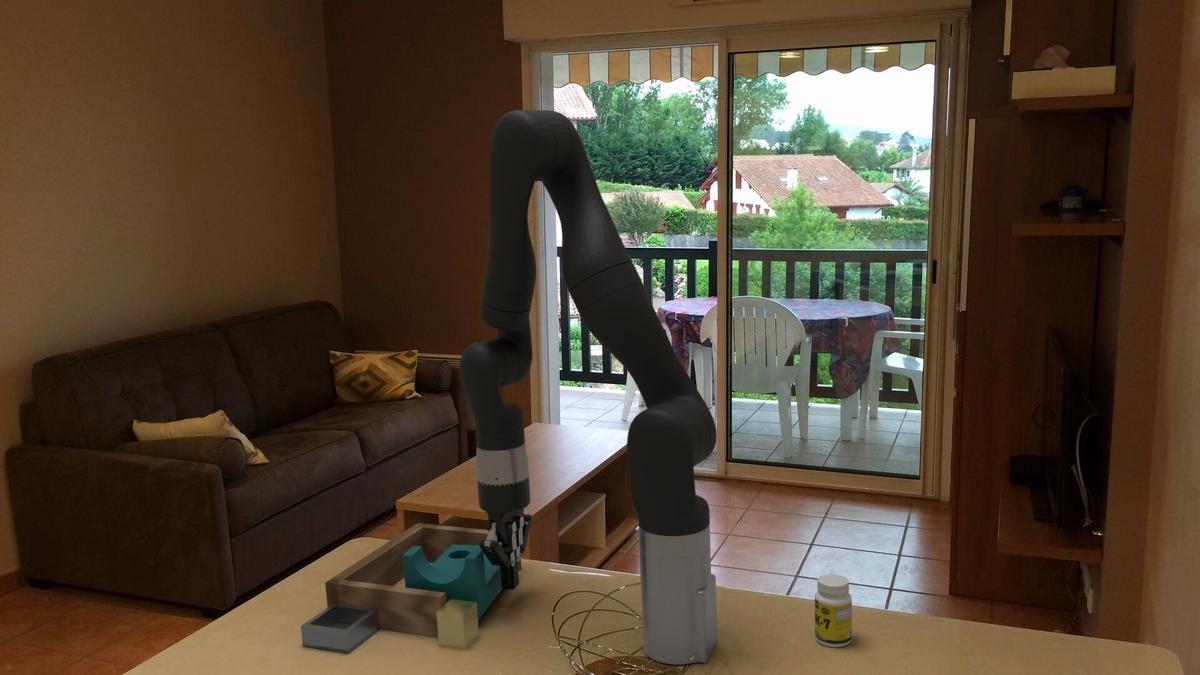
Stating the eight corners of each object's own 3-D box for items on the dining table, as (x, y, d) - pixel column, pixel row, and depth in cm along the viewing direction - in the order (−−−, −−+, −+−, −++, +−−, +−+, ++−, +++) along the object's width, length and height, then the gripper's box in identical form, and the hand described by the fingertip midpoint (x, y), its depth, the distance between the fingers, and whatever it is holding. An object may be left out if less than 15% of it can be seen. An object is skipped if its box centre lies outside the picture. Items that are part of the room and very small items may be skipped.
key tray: (380, 628, 137) (378, 609, 136) (348, 653, 130) (346, 632, 129) (336, 622, 139) (334, 603, 139) (302, 646, 132) (300, 625, 132)
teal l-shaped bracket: (479, 628, 136) (474, 558, 134) (408, 624, 138) (402, 555, 136) (518, 577, 153) (514, 514, 151) (454, 574, 155) (449, 512, 154)
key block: (479, 636, 133) (476, 602, 132) (465, 649, 129) (462, 614, 129) (453, 632, 135) (451, 599, 134) (439, 645, 131) (436, 611, 130)
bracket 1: (521, 568, 156) (519, 533, 155) (443, 638, 133) (440, 597, 132) (420, 557, 163) (417, 523, 162) (328, 621, 140) (325, 582, 139)
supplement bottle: (808, 635, 129) (807, 576, 128) (838, 628, 130) (837, 569, 129) (828, 651, 124) (828, 589, 123) (859, 643, 126) (859, 583, 125)
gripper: (505, 490, 132) (513, 609, 135) (545, 463, 145) (551, 572, 147) (457, 486, 135) (466, 603, 138) (500, 460, 147) (507, 567, 150)
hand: (510, 587), depth 143 cm, fingers closed
